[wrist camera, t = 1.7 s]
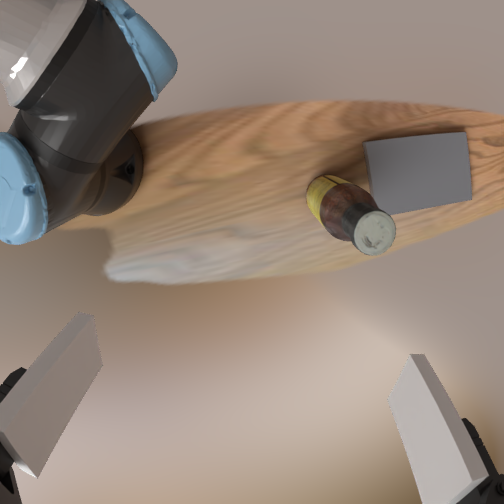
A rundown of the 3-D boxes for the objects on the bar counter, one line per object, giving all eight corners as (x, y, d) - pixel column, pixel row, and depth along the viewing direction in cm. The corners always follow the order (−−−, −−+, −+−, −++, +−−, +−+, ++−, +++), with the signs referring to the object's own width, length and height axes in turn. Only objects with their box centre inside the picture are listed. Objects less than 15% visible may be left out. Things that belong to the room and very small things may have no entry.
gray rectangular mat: (373, 215, 44) (376, 217, 43) (362, 142, 41) (365, 142, 39) (467, 197, 42) (471, 199, 41) (460, 131, 38) (465, 132, 37)
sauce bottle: (310, 220, 45) (339, 278, 26) (300, 178, 43) (326, 209, 24) (352, 210, 44) (407, 260, 25) (344, 168, 42) (400, 192, 23)
